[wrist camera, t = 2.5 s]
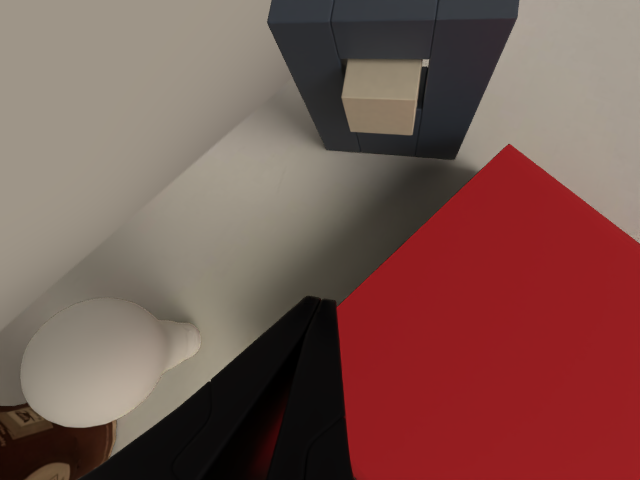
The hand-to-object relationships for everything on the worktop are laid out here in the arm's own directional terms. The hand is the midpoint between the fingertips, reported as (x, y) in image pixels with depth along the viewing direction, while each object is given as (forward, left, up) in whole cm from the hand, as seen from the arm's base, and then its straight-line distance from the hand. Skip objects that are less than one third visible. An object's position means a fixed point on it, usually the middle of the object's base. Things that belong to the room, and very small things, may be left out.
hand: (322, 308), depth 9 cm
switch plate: (+6, -10, -14) cm, 18 cm away
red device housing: (-7, -2, -14) cm, 16 cm away
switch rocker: (+6, -8, -7) cm, 12 cm away
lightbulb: (+7, +11, -14) cm, 19 cm away
